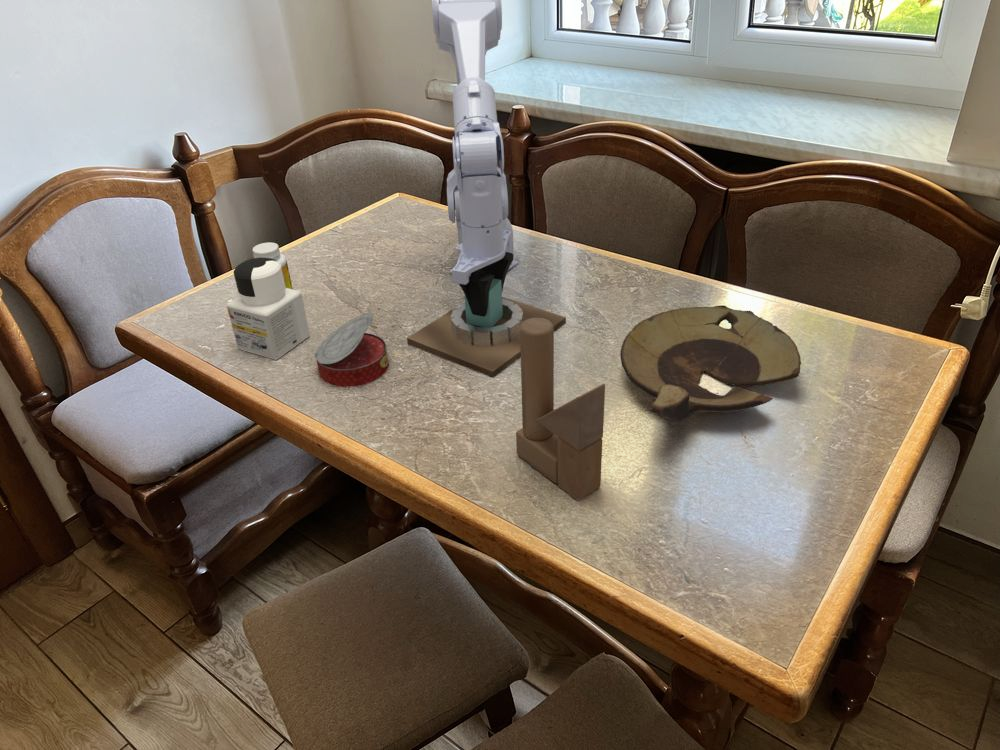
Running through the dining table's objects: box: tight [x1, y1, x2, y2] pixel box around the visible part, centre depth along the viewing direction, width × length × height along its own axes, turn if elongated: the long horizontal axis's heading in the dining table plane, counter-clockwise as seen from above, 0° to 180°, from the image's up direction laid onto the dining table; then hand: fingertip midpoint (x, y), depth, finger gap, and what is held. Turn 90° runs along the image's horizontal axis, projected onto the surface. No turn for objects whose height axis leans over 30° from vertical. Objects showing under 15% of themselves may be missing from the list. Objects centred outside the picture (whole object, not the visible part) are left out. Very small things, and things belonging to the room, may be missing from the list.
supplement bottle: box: [252, 242, 294, 290], centre depth 123 cm, size 6×6×10 cm
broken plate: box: [620, 304, 802, 422], centre depth 100 cm, size 22×30×8 cm
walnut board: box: [406, 296, 567, 379], centre depth 115 cm, size 18×16×1 cm
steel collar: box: [450, 299, 523, 346], centre depth 114 cm, size 10×10×2 cm
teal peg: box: [464, 278, 503, 328], centre depth 113 cm, size 4×4×6 cm
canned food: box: [314, 311, 390, 388], centre depth 107 cm, size 11×10×10 cm
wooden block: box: [515, 318, 606, 501], centre depth 84 cm, size 4×11×18 cm, turn 39°
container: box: [226, 257, 311, 361], centre depth 112 cm, size 8×8×13 cm
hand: (486, 307), depth 113 cm, fingers closed on teal peg, 4 cm apart
